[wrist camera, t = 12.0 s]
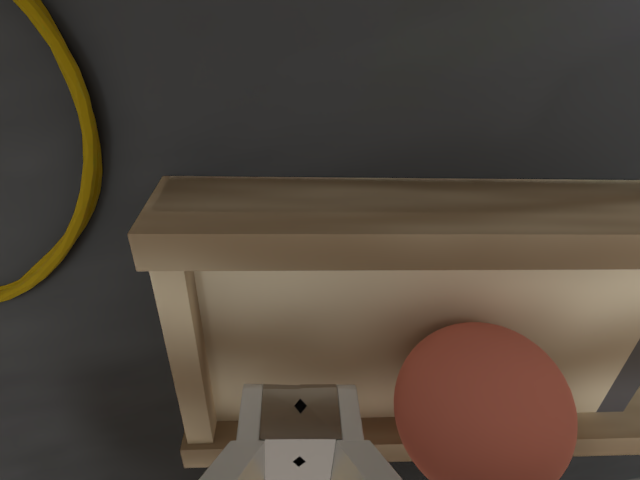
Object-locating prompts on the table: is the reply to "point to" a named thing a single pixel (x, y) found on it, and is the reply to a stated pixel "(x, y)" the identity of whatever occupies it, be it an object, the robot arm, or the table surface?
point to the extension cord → (92, 157)
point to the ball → (484, 406)
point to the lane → (389, 289)
